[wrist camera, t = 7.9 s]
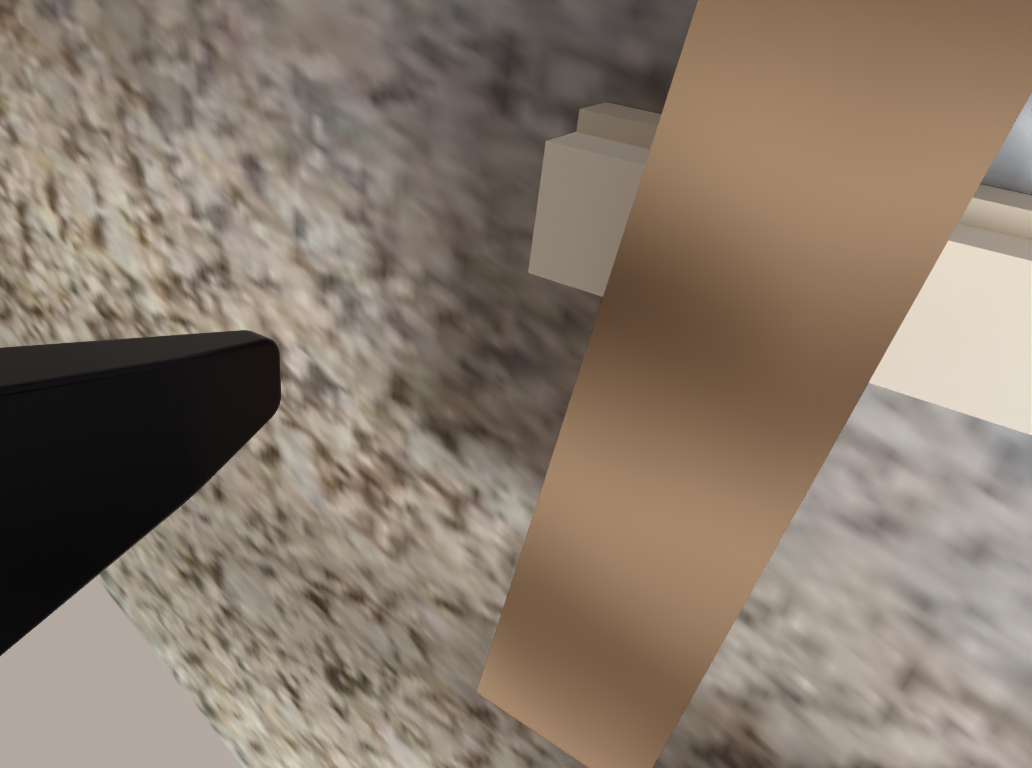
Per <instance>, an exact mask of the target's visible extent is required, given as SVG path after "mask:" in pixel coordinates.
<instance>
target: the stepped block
mask: <svg viewBox="0 0 1032 768" xmlns="http://www.w3.org/2000/svg"><path fill="white" fill-rule="evenodd" d="M660 117H661V114H658V113H654V112H649V111H644V110H640V109H635V108H631V107H626V106H622V105H617V104H612V103H608V102H605V103H601V104H597V105H593V106H589V107H585V108H581V109H580V110H579V117H578V123H577V130H576V132H574V133H570V134H567V135H564V136H560V137H557V138H554V139H550V140H547V141H546V143H545V150H544V158H543V165H542V172H541V180H540V187H539V195H538V202H537V210H536V217H535V224H534V232H533V239H532V247H531V254H530V261H529V269H528V273H530V274H533V275H536V276H539V277H542V278H545V279H548V280H552V281H555V282H558V283H561V284H564V285H567V286H570V287H573V288H576V289H579V290H583V291H586V292H589V293H592V294H595V295H598V296H601V297H603V295H604V292H605V289H606V286H607V283H608V280H609V277H610V274H611V270H612V267H613V264H614V261H615V258H616V255H617V252H618V249H619V245H620V242H621V239H622V236H623V233H624V230H625V227H626V224H627V220H628V217H629V214H630V211H631V208H632V205H633V202H634V199H635V195H636V192H637V189H638V186H639V183H640V180H641V177H642V174H643V170H644V167H645V164H646V161H647V158H648V155H649V152H650V149H651V145H652V142H653V139H654V136H655V133H656V130H657V127H658V124H659V120H660ZM869 383H871V384H874V385H877V386H880V387H884V388H887V389H890V390H893V391H896V392H899V393H902V394H905V395H908V396H911V397H915V398H918V399H921V400H924V401H927V402H930V403H933V404H936V405H939V406H943V407H946V408H949V409H952V410H955V411H958V412H961V413H964V414H967V415H970V416H974V417H977V418H980V419H983V420H986V421H989V422H992V423H995V424H998V425H1001V426H1005V427H1008V428H1011V429H1014V430H1017V431H1020V432H1023V433H1026V434H1029V435H1032V195H1028V194H1023V193H1019V192H1014V191H1010V190H1005V189H1001V188H996V187H992V186H987V185H982V184H980V185H979V187H978V189H977V190H976V192H975V194H974V196H973V198H972V199H971V201H970V203H969V205H968V206H967V208H966V210H965V212H964V214H963V215H962V217H961V219H960V221H959V222H958V224H957V226H956V228H955V230H954V231H953V233H952V235H951V237H950V238H949V240H948V242H947V244H946V246H945V247H944V249H943V251H942V253H941V255H940V256H939V258H938V260H937V262H936V263H935V265H934V267H933V269H932V271H931V272H930V274H929V276H928V278H927V279H926V281H925V283H924V285H923V287H922V288H921V290H920V292H919V294H918V295H917V297H916V299H915V301H914V303H913V304H912V306H911V308H910V310H909V312H908V313H907V315H906V317H905V319H904V320H903V322H902V324H901V326H900V328H899V329H898V331H897V333H896V335H895V336H894V338H893V340H892V342H891V344H890V345H889V347H888V349H887V351H886V352H885V354H884V356H883V358H882V360H881V361H880V363H879V365H878V367H877V368H876V370H875V372H874V374H873V376H872V377H871V379H870V381H869Z"/></svg>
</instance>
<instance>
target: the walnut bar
mask: <svg viewBox="0 0 1032 768" xmlns="http://www.w3.org/2000/svg"><path fill="white" fill-rule="evenodd" d="M1031 92H1032V0H698V2H697V5H696V8H695V11H694V14H693V17H692V20H691V24H690V27H689V30H688V33H687V36H686V39H685V42H684V45H683V49H682V52H681V55H680V58H679V61H678V64H677V67H676V70H675V74H674V77H673V80H672V83H671V86H670V89H669V92H668V95H667V99H666V102H665V105H664V108H663V111H662V114H661V117H660V120H659V124H658V127H657V130H656V133H655V136H654V139H653V142H652V145H651V149H650V152H649V155H648V158H647V161H646V164H645V167H644V170H643V174H642V177H641V180H640V183H639V186H638V189H637V192H636V195H635V199H634V202H633V205H632V208H631V211H630V214H629V217H628V220H627V224H626V227H625V230H624V233H623V236H622V239H621V242H620V245H619V249H618V252H617V255H616V258H615V261H614V264H613V267H612V270H611V274H610V277H609V280H608V283H607V286H606V289H605V292H604V295H603V299H602V302H601V305H600V308H599V311H598V314H597V317H596V320H595V324H594V327H593V330H592V333H591V336H590V339H589V342H588V345H587V349H586V352H585V355H584V358H583V361H582V364H581V367H580V370H579V374H578V377H577V380H576V383H575V386H574V389H573V392H572V395H571V399H570V402H569V405H568V408H567V411H566V414H565V417H564V420H563V424H562V427H561V430H560V433H559V436H558V439H557V442H556V445H555V448H554V452H553V455H552V458H551V461H550V464H549V467H548V470H547V473H546V477H545V480H544V483H543V486H542V489H541V492H540V495H539V498H538V502H537V505H536V508H535V511H534V514H533V517H532V520H531V523H530V527H529V530H528V533H527V536H526V539H525V542H524V545H523V548H522V552H521V555H520V558H519V561H518V564H517V567H516V570H515V573H514V577H513V580H512V583H511V586H510V589H509V592H508V595H507V598H506V602H505V605H504V608H503V611H502V614H501V617H500V620H499V623H498V627H497V630H496V633H495V636H494V639H493V642H492V645H491V648H490V652H489V655H488V658H487V661H486V664H485V667H484V670H483V673H482V677H481V680H480V683H479V686H478V689H477V693H478V694H480V695H481V696H483V697H484V698H486V699H487V700H489V701H490V702H492V703H493V704H495V705H496V706H498V707H499V708H501V709H502V710H504V711H505V712H507V713H508V714H510V715H511V716H513V717H514V718H516V719H517V720H518V721H520V722H521V723H523V724H524V725H526V726H527V727H529V728H530V729H532V730H533V731H535V732H536V733H538V734H539V735H541V736H542V737H544V738H545V739H547V740H548V741H550V742H551V743H553V744H554V745H556V746H557V747H559V748H560V749H561V750H563V751H564V752H566V753H567V754H569V755H570V756H572V757H573V758H575V759H576V760H578V761H579V762H581V763H582V764H584V765H585V766H587V767H588V768H652V767H653V766H654V764H655V762H656V760H657V759H658V757H659V755H660V753H661V751H662V750H663V748H664V746H665V744H666V743H667V741H668V739H669V737H670V735H671V734H672V732H673V730H674V728H675V726H676V725H677V723H678V721H679V719H680V718H681V716H682V714H683V712H684V710H685V709H686V707H687V705H688V703H689V702H690V700H691V698H692V696H693V694H694V693H695V691H696V689H697V687H698V686H699V684H700V682H701V680H702V678H703V677H704V675H705V673H706V671H707V669H708V668H709V666H710V664H711V662H712V661H713V659H714V657H715V655H716V653H717V652H718V650H719V648H720V646H721V645H722V643H723V641H724V639H725V637H726V636H727V634H728V632H729V630H730V629H731V627H732V625H733V623H734V621H735V620H736V618H737V616H738V614H739V612H740V611H741V609H742V607H743V605H744V604H745V602H746V600H747V598H748V596H749V595H750V593H751V591H752V589H753V588H754V586H755V584H756V582H757V580H758V579H759V577H760V575H761V573H762V572H763V570H764V568H765V566H766V564H767V563H768V561H769V559H770V557H771V556H772V554H773V552H774V550H775V548H776V547H777V545H778V543H779V541H780V539H781V538H782V536H783V534H784V532H785V531H786V529H787V527H788V525H789V523H790V522H791V520H792V518H793V516H794V515H795V513H796V511H797V509H798V507H799V506H800V504H801V502H802V500H803V499H804V497H805V495H806V493H807V491H808V490H809V488H810V486H811V484H812V482H813V481H814V479H815V477H816V475H817V474H818V472H819V470H820V468H821V466H822V465H823V463H824V461H825V459H826V458H827V456H828V454H829V452H830V450H831V449H832V447H833V445H834V443H835V442H836V440H837V438H838V436H839V434H840V433H841V431H842V429H843V427H844V425H845V424H846V422H847V420H848V418H849V417H850V415H851V413H852V411H853V409H854V408H855V406H856V404H857V402H858V401H859V399H860V397H861V395H862V393H863V392H864V390H865V388H866V386H867V385H868V383H869V381H870V379H871V377H872V376H873V374H874V372H875V370H876V368H877V367H878V365H879V363H880V361H881V360H882V358H883V356H884V354H885V352H886V351H887V349H888V347H889V345H890V344H891V342H892V340H893V338H894V336H895V335H896V333H897V331H898V329H899V328H900V326H901V324H902V322H903V320H904V319H905V317H906V315H907V313H908V312H909V310H910V308H911V306H912V304H913V303H914V301H915V299H916V297H917V295H918V294H919V292H920V290H921V288H922V287H923V285H924V283H925V281H926V279H927V278H928V276H929V274H930V272H931V271H932V269H933V267H934V265H935V263H936V262H937V260H938V258H939V256H940V255H941V253H942V251H943V249H944V247H945V246H946V244H947V242H948V240H949V238H950V237H951V235H952V233H953V231H954V230H955V228H956V226H957V224H958V222H959V221H960V219H961V217H962V215H963V214H964V212H965V210H966V208H967V206H968V205H969V203H970V201H971V199H972V198H973V196H974V194H975V192H976V190H977V189H978V187H979V185H980V183H981V181H982V180H983V178H984V176H985V174H986V173H987V171H988V169H989V167H990V165H991V164H992V162H993V160H994V158H995V157H996V155H997V153H998V151H999V149H1000V148H1001V146H1002V144H1003V142H1004V141H1005V139H1006V137H1007V135H1008V133H1009V132H1010V130H1011V128H1012V126H1013V124H1014V123H1015V121H1016V119H1017V117H1018V116H1019V114H1020V112H1021V110H1022V108H1023V107H1024V105H1025V103H1026V101H1027V100H1028V98H1029V96H1030V94H1031Z"/></svg>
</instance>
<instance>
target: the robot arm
mask: <svg viewBox="0 0 1032 768" xmlns="http://www.w3.org/2000/svg"><path fill="white" fill-rule="evenodd" d="M280 400H281V378H280V353H279V349H278V347H277V344H276V343H275V342H274V341H273V340H271V339H269V338H267V337H264V336H262V335H260V334H257V333H255V332H252V331H248V330H241V331H227V332H213V333H199V334H185V335H171V336H157V337H143V338H129V339H116V340H102V341H88V342H74V343H60V344H46V345H32V346H18V347H4V348H0V656H1V655H2V654H3V653H5V652H6V651H7V650H8V649H9V648H11V647H12V646H13V645H14V644H15V643H17V642H18V641H19V640H20V639H21V638H23V637H24V636H25V635H26V634H27V633H29V632H30V631H31V630H32V629H33V628H35V627H36V626H37V625H38V624H39V623H41V622H42V621H43V620H44V619H46V618H47V617H48V616H49V615H50V614H52V613H53V612H54V611H55V610H56V609H57V608H59V607H60V606H61V605H62V604H64V603H65V602H66V601H67V600H68V599H70V598H71V597H72V596H73V595H74V594H76V593H77V592H78V591H79V590H80V589H82V588H83V587H84V586H85V585H86V584H88V583H89V582H90V581H91V580H92V579H94V578H95V577H96V576H97V575H99V574H100V573H101V572H102V571H103V570H105V569H106V568H107V567H108V566H109V565H111V564H112V563H113V562H114V561H115V560H117V559H118V558H119V557H120V556H121V555H123V554H124V553H125V552H126V551H127V550H129V549H130V548H131V547H132V546H134V545H135V544H136V543H137V542H138V541H140V540H141V539H142V538H143V537H144V536H146V535H147V534H148V533H149V532H150V531H152V530H153V529H154V528H155V527H156V526H158V525H159V524H160V523H161V522H162V521H164V520H165V519H166V518H167V517H168V516H170V515H171V514H172V513H173V512H174V511H176V510H177V509H178V508H179V507H180V506H182V505H183V504H184V503H185V502H186V501H187V500H189V499H190V498H191V497H192V496H193V495H194V494H195V493H196V492H197V491H198V490H199V489H201V488H202V487H203V486H204V485H205V484H206V483H207V482H208V481H209V480H210V479H211V478H212V477H213V476H214V475H215V474H216V473H217V472H218V471H219V470H220V469H221V468H222V467H223V466H224V465H225V464H226V463H227V462H228V461H229V460H230V459H231V458H232V457H233V456H234V455H235V454H236V453H237V452H238V451H239V450H240V449H241V448H242V447H243V446H244V445H245V444H246V443H247V442H248V441H249V440H250V439H251V438H252V437H253V436H254V435H255V434H256V433H257V432H258V431H259V430H260V429H261V428H262V427H263V426H264V425H265V424H266V423H267V422H268V421H269V420H270V419H271V418H272V417H273V415H274V414H275V413H276V411H277V409H278V407H279V405H280Z"/></svg>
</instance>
